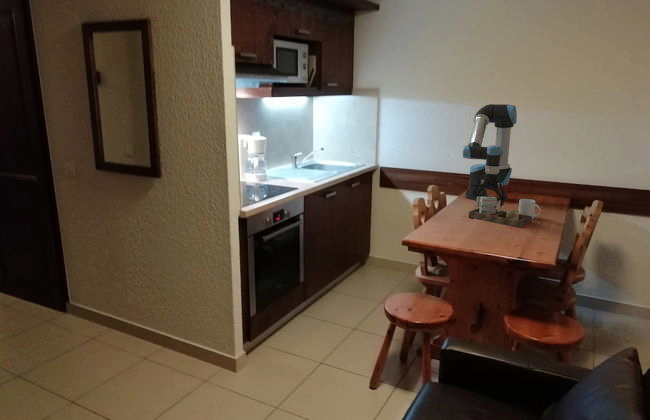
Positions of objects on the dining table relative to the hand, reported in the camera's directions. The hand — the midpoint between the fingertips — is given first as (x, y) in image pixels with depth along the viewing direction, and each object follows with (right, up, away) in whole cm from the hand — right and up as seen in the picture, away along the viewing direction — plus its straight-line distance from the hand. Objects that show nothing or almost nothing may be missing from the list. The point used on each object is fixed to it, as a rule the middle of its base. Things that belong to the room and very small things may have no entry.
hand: (488, 209), depth 278 cm
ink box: (0, -5, +1) cm, 5 cm away
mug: (+23, -6, +1) cm, 24 cm away
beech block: (+10, -7, -9) cm, 15 cm away
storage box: (+5, -7, -4) cm, 9 cm away
